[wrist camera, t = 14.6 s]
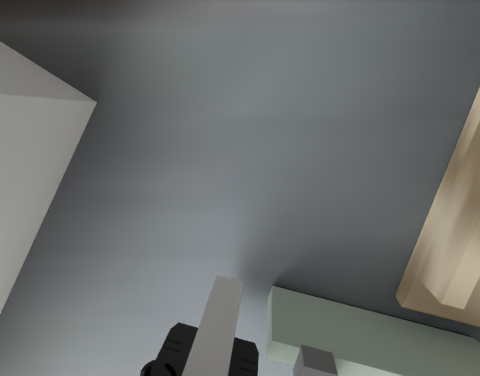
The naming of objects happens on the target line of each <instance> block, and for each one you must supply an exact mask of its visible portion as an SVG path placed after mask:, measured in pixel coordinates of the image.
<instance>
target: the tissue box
mask: <svg viewBox="0 0 480 376" xmlns="http://www.w3.org/2000/svg"><path fill="white" fill-rule="evenodd" d="M96 103H97V102H96V101H94V100H92V99H91V98H89V97H88V96H86V95H84V94H83V93H81V92H80V91H78V90H77V89H75V88H73V87H72V86H70V85H69V84H67V83H65V82H64V81H62V80H61V79H59V78H58V77H56V76H54V75H53V74H51V73H50V72H48V71H46V70H45V69H43V68H42V67H40V66H38V65H37V64H35V63H34V62H32V61H31V60H29V59H27V58H26V57H24V56H23V55H21V54H19V53H18V52H16V51H15V50H13V49H12V48H10V47H8V46H7V45H5V44H4V43H2V42H0V314H1V312H2V310H3V307H4V305H5V303H6V301H7V299H8V297H9V294H10V292H11V290H12V288H13V286H14V283H15V281H16V279H17V277H18V275H19V272H20V270H21V268H22V266H23V264H24V261H25V259H26V257H27V255H28V253H29V250H30V248H31V246H32V244H33V242H34V239H35V237H36V235H37V233H38V231H39V229H40V226H41V224H42V222H43V220H44V218H45V215H46V213H47V211H48V209H49V207H50V204H51V202H52V200H53V198H54V196H55V193H56V191H57V189H58V187H59V185H60V182H61V180H62V178H63V176H64V174H65V171H66V169H67V167H68V165H69V163H70V161H71V158H72V156H73V154H74V152H75V150H76V147H77V145H78V143H79V141H80V139H81V136H82V134H83V132H84V130H85V128H86V125H87V123H88V121H89V119H90V117H91V114H92V112H93V110H94V108H95V106H96Z"/></svg>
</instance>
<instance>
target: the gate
mask: <svg viewBox="0 0 480 376" xmlns="http://www.w3.org/2000/svg"><path fill="white" fill-rule="evenodd" d="M266 358H267V359H271V360H274V361H278V362H282V363H285V364H289V365H293V366H294V368H293V374H294V376H480V343H479V342H478V341H477V339H476V338H472V337H468V336H465V335H461V334H457V333H453V332H449V331H445V330H441V329H438V328H434V327H430V326H426V325H422V324H418V323H415V322H411V321H407V320H403V319H399V318H395V317H391V316H388V315H384V314H380V313H376V312H372V311H368V310H364V309H361V308H357V307H353V306H349V305H345V304H341V303H337V302H334V301H330V300H326V299H322V298H318V297H314V296H310V295H307V294H303V293H299V292H295V291H291V290H287V289H283V288H280V287H276V286H272V287H271V290H270V294H269V297H268V313H267V354H266Z"/></svg>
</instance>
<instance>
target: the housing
mask: <svg viewBox="0 0 480 376" xmlns="http://www.w3.org/2000/svg"><path fill="white" fill-rule="evenodd" d="M395 297H396V299H397V300H398V302H399V303H400V305H401V306H402V307H404V308H408V309H412V310H416V311H420V312H424V313H427V314H431V315H435V316H439V317H443V318H447V319H451V320H455V321H459V322H462V323H466V324H470V325H474V326H478V327H480V87H479V90H478V92H477V95H476V97H475V100H474V102H473V105H472V107H471V110H470V112H469V115H468V117H467V119H466V122H465V124H464V127H463V129H462V132H461V134H460V137H459V139H458V142H457V144H456V147H455V149H454V151H453V154H452V156H451V159H450V161H449V164H448V166H447V169H446V171H445V174H444V176H443V179H442V181H441V183H440V186H439V188H438V191H437V193H436V196H435V198H434V201H433V203H432V206H431V208H430V211H429V213H428V216H427V218H426V220H425V223H424V225H423V228H422V230H421V233H420V235H419V238H418V240H417V243H416V245H415V248H414V250H413V252H412V255H411V257H410V260H409V262H408V265H407V267H406V270H405V272H404V275H403V277H402V280H401V282H400V284H399V287H398V289H397V292H396V294H395Z"/></svg>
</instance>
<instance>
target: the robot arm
mask: <svg viewBox="0 0 480 376" xmlns="http://www.w3.org/2000/svg"><path fill="white" fill-rule="evenodd" d="M243 284H244V282H241V281H237V280H233V279H230V278H226V277H222V276H218V275H217V277H216V280H215V283H214V285H213V288H212V291H211V294H210V297H209V300H208V302H207V305H206V308H205V311H204V314H203V317H202V320H201V322H200V325H199V328H196V327H193V326H189V325H186V324H182V323H177V324H176V325H175V326H174V327H173V328H171V329H170V331H169V333H168V335H167V337H166V340H165V342H164V344H163V346H162V348H161V350H160V352H159V354H158V356H157V358H156V360H152V361H151V362H149V363H147V364H146V365H145V366H144V367H143V369H142V370H141V374H140V376H257V375H258V374H257V373H258V357H259V353H258V350H257V348H256V345H255V343H253V342H249V341H246V340H242V339H239V338H235V337H234V336H235V330H236V325H237V319H238V313H239V307H240V301H241V296H242V290H243Z"/></svg>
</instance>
